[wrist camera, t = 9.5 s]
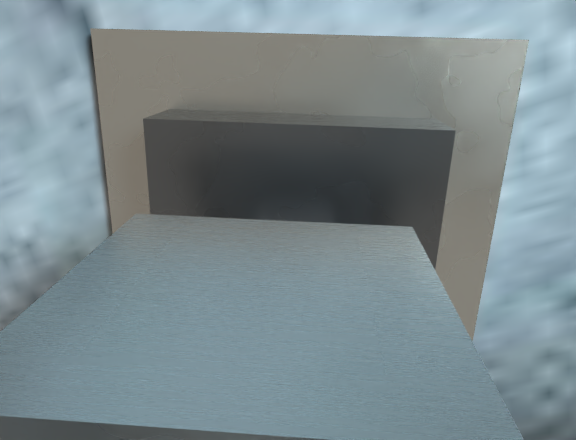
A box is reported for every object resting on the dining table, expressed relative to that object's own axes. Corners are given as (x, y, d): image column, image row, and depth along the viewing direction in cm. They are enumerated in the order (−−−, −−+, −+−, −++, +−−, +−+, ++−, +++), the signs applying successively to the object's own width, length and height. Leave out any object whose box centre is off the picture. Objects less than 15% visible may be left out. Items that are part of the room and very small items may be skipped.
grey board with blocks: (522, 40, 15) (676, 30, 8) (432, 532, 22) (476, 730, 16) (97, 29, 16) (-64, 12, 9) (146, 506, 23) (76, 683, 17)
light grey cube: (412, 227, 10) (531, 453, 4) (384, 446, 12) (441, 795, 6) (135, 213, 10) (-89, 409, 5) (154, 429, 12) (14, 747, 7)
